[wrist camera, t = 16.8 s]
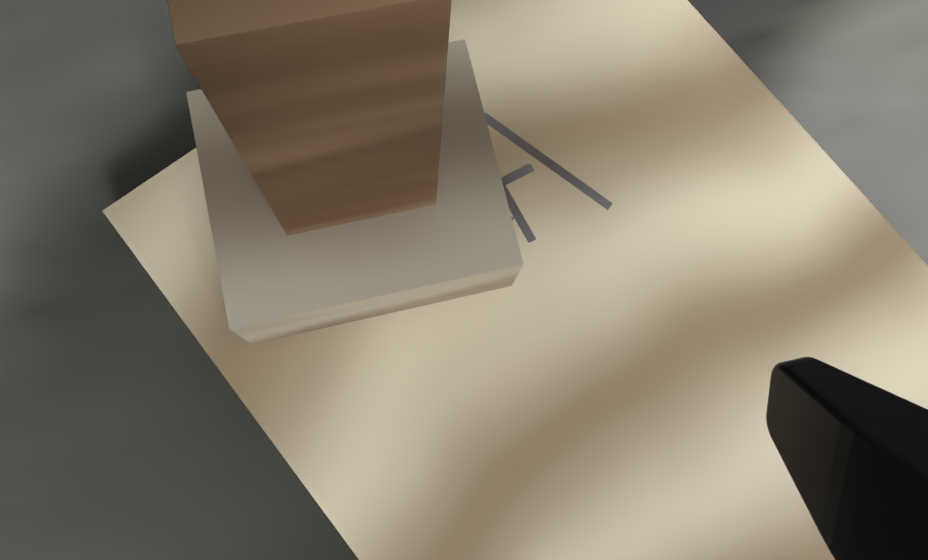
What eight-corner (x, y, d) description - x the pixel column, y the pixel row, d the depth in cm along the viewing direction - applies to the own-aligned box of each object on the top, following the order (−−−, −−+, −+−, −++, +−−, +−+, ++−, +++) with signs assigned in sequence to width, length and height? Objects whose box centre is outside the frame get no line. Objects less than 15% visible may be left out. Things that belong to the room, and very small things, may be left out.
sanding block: (511, 285, 22) (614, 101, 10) (251, 344, 21) (57, 213, 10) (459, 84, 23) (501, -280, 11) (211, 132, 22) (-3, -206, 11)
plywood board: (1168, 581, 22) (1222, 590, 21) (730, 1050, 19) (756, 1099, 18) (574, -82, 26) (584, -114, 24) (122, 226, 23) (102, 210, 21)
